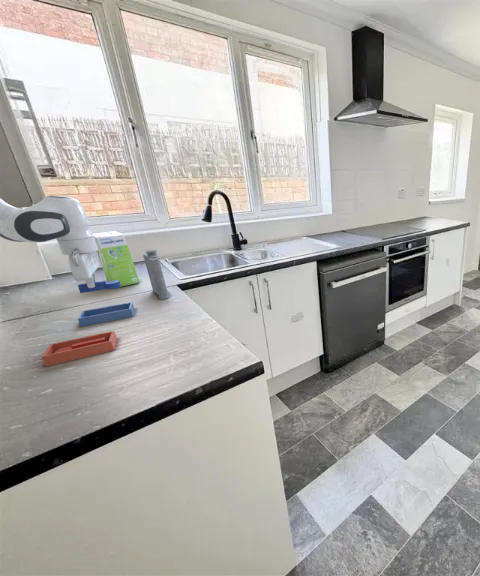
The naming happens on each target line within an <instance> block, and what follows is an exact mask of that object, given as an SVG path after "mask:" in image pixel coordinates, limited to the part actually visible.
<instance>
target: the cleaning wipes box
mask: <svg viewBox="0 0 480 576" xmlns="http://www.w3.org/2000/svg"><path fill="white" fill-rule="evenodd" d="M92 234H93V236H94V239H95V242H96V245H97V248H98V250H97V251H96V252H97V256H98V261H99V263H100V265H101V268H102V271H103V273H104V277H105V279H106V282H109V281H115V280H118V281H120V284H121V287H122V288H123V287H127V286H130V285H135V284H139V283H140V279H139V275H138V273H137V270H136V267H135V264H134V261H133V258H132V255H131V252H130V249H129V246H128V242H127V239H126V236H125V234H123V233H121V232H118V231H116V230H114V231H113V230H112V231H105V232H97V233H92ZM121 287H120V288H121Z"/></svg>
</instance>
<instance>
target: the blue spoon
mask: <svg viewBox="0 0 480 576" xmlns="http://www.w3.org/2000/svg"><path fill="white" fill-rule="evenodd" d="M77 287H78V290H79V293H80V294H85V293H90V292H98V291H104V290H115V289H116V290H117V289H118V288H121V284H120V281H118V280H115V281H109V282H108V281H107V280H99V281H96V282H95V287H94V288H88V286H87V283H86V282H84V283H79V284H78V285H77Z"/></svg>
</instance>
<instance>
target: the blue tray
mask: <svg viewBox="0 0 480 576" xmlns="http://www.w3.org/2000/svg"><path fill="white" fill-rule="evenodd" d="M134 314H135V306H134V303H133V301H131V302H126V303H120V304H119V303H118V304H114V305H109V306H103V307H102V306H101V307H97V308H92V309H86V310H82V311H81V313H80V314H79V316H78V318H77V320H78V323H79V325H80V327H81V328H82V327H88V326H93V325H97V324H102V323H107V322H112V321H116V320H122V319H128V318H132V317H134Z"/></svg>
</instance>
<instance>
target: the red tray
mask: <svg viewBox="0 0 480 576" xmlns="http://www.w3.org/2000/svg"><path fill="white" fill-rule="evenodd" d="M117 337H118V336H117V334H116V332H115V330H111V331H106V332H100V333H97V334H92V335H88V336H82V337H78V338H73V339H69V340H68V339H67V340H64V341H60V342H55V343H50V344H49V346H48V347H47V349H46V350H45V352H44V353H43V354H42V356H41V358H42V361H43V363H44V366H45V367H50V366H54V365H55V366H56V365H59V364H63V363H66V362H70V361H71V362H72V361H75V360H80V359H83V358H87V357H91V356H96V355H100V354H105V353H109V352H113V351H115V349H116V344H117V341H118V338H117ZM100 338H105V340H106V342H102V343H98V344H93V345H89V346H85V347H80V348H76V349H71V350H67V351H62V352H58V353H54V352H55V351H56V350H58V349H61V348H64V347H68V346H72V345H73V344H77V343H81V342H86V341H90V340H95V339H100Z"/></svg>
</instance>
